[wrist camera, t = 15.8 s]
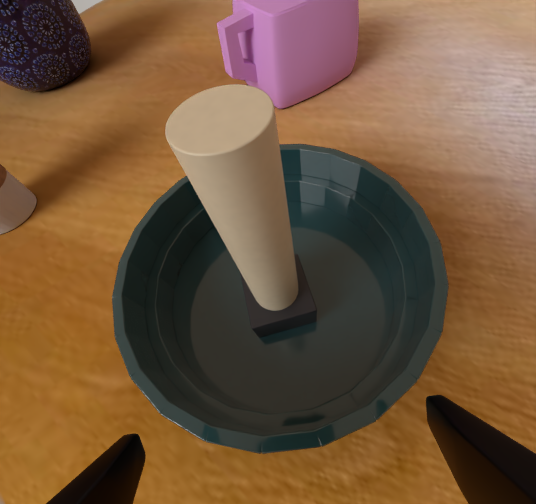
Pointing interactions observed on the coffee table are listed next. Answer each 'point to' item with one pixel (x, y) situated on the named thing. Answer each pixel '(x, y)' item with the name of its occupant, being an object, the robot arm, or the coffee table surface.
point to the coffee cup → (14, 202)
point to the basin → (293, 340)
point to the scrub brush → (245, 197)
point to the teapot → (290, 45)
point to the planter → (41, 43)
